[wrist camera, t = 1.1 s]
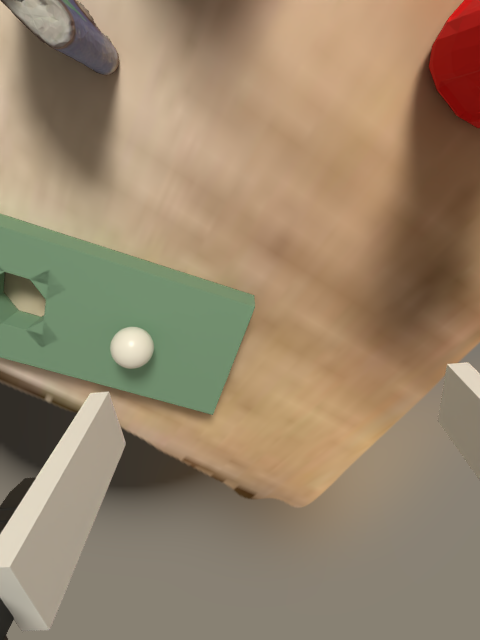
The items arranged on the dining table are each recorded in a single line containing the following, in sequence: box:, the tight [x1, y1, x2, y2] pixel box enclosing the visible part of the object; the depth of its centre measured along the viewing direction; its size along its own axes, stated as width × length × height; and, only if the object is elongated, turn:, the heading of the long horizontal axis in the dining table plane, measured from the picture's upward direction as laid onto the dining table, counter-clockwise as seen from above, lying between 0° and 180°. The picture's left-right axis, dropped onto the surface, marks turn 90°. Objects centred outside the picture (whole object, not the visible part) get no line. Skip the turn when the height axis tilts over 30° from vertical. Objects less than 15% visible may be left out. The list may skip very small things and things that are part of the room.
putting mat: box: [0, 214, 255, 415], centre depth 37 cm, size 28×14×3 cm, turn 71°
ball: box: [110, 327, 154, 369], centre depth 34 cm, size 4×4×4 cm
